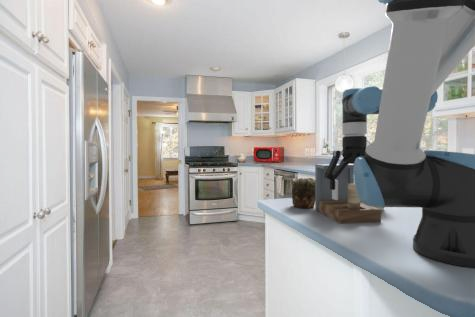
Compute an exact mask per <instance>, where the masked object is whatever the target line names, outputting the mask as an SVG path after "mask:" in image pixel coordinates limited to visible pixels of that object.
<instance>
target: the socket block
mask: <svg viewBox="0 0 475 317" xmlns="http://www.w3.org/2000/svg"><path fill="white" fill-rule="evenodd" d="M318 212H319V213H321V214H323V215H325V216H327V218H330V219H331V220H334V221H335V222H337V223H339V224H356V223H360V224H361V223H378V222H381V221H382V211H381V209H378V208H375V207H373V206H367V205H365V204H364V203H361V202H360V209H357V210H350V209H348V200H329V201H319V211H318Z"/></svg>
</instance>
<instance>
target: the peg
mask: <svg viewBox="0 0 475 317" xmlns="http://www.w3.org/2000/svg"><path fill="white" fill-rule="evenodd" d="M348 209H350V210H357V209H360V197H359V195H358V192H357V189H356V185H355V182H354V183H349V184H348Z"/></svg>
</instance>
